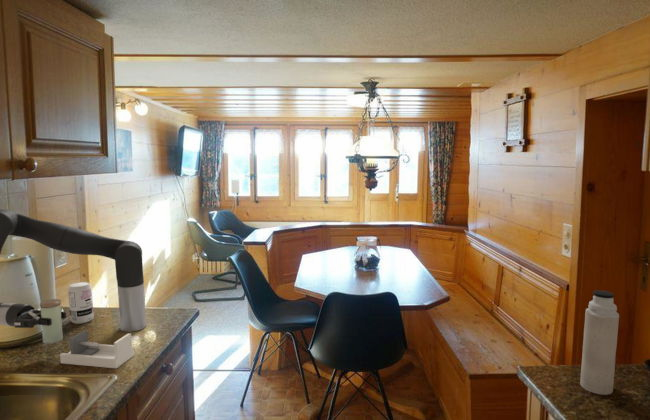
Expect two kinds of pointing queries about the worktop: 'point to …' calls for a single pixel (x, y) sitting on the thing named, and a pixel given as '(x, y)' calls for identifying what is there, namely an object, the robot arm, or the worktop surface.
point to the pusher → (82, 344)
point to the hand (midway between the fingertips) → (58, 318)
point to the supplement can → (80, 302)
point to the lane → (103, 354)
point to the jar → (54, 313)
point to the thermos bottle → (599, 344)
